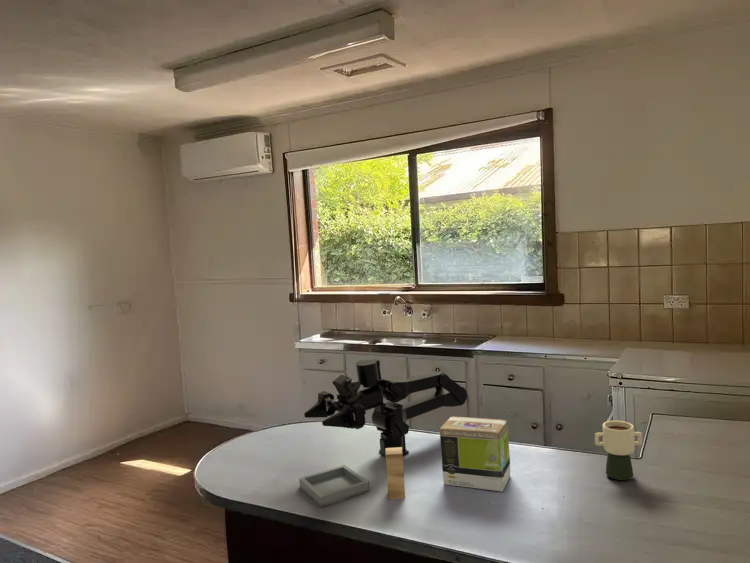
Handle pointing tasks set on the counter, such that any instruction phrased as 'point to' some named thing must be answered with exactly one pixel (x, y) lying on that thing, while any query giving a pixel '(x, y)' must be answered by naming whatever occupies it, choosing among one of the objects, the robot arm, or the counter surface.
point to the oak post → (395, 473)
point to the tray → (333, 485)
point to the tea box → (475, 453)
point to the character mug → (618, 448)
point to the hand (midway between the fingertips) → (313, 419)
